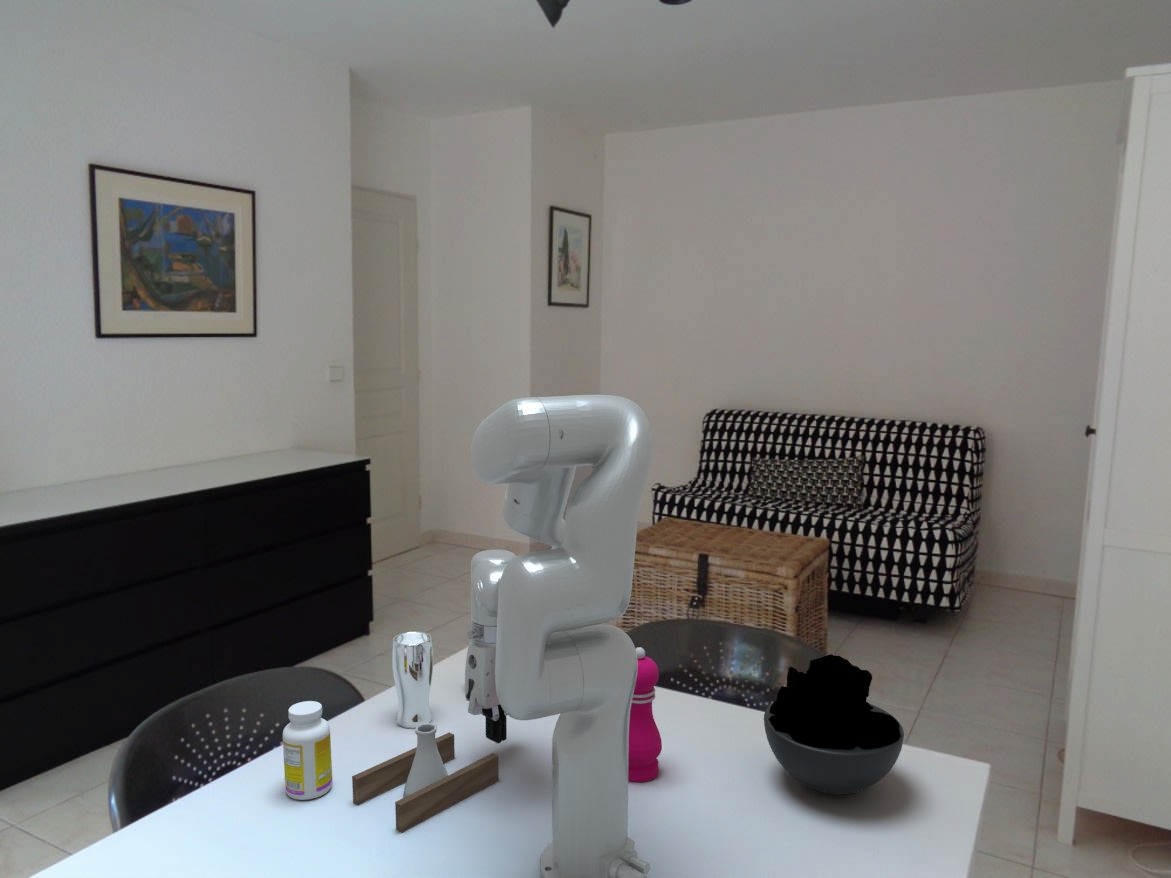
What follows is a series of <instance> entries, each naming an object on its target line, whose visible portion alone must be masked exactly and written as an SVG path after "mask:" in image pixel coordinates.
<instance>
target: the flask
mask: <svg viewBox="0 0 1171 878" xmlns="http://www.w3.org/2000/svg"><path fill="white" fill-rule="evenodd" d="M414 729H415V730H414V733H415V735H416V736H417V740H416V741H417V743H416V747H417V750H416V754H415V757H414V760H413V764H412V767H411V770H410V773H409V776H408V778H407V781H406V782H405V785H404V788H403V794H402V795H403V796H402V798H404V797H406V796H408V795H410V794H412V793H414V792H416V791H418V790H420V789H422V788H424V787H426V786H428V785H430V784H432V783H434V782H436V781H438V780H440V779H442V778H444V777H446V776H448V775H449V773H448V771H447V769H446V766H445V763H444V764H443V762H442V759H441V757H440V754H439V751H438V749H437V744H436V739H435V738H436V733H437V729H438V724H434V723H432V722H430V723H421V724H420V725H418V726H416V728H414Z"/></svg>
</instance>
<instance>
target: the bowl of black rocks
mask: <svg viewBox="0 0 1171 878" xmlns="http://www.w3.org/2000/svg"><path fill="white" fill-rule="evenodd" d="M786 674H787V675H786V686H784V685H782V686H780V687H779V689H778V692H777V696H776V700H775V701H773V702H772V703H770V704H769V705H768V706H767V708H766V709H765V711H764V713H763V714H764V715H763V725H764V731H765V735H766V740H767V743H768V745H769V747H770V749H771V751H772V753H773V755H774V756H775V759H776V760H777V761H778V763H779V764H780V766H781V767H783V770H785V771H786V772H787V773H788V774H789V775H791V777H793V778H794V779H795V780H796V781H798V782H799V783H801V784H803V785H805V786H806V787H808V788H810V789H812V790H814V791H817V792H821V793H824V794H825V793H826V794H831V795H832V794H833V795H849V794H850V795H851V794H855V793H858V792H863V791H865V790H867V789H869V788H871V787H873V786H874V785H876V784H878V783H879V782H880V781H882V780H883V779H884V778H885V777H886V776H887V775H888V774H889V772H891V770H892V768H893V767H894V766H895V764H896V763H897V760H898V758H899V757H900V754H901V751H902V748H903V744H904V739H905V732H904V729H903V726H902V724H901V723H900V721H899V720H898V719H897V718H896V717H895V716H893V714H891V713H889V712H888V711H886V710H885V709H883V708H881V707H879V706H876V705H874V704H872V703H869V701H867V698H869V696H870V687H871V684H872V681H873V674H872V673H871V672H870V671H869V670H867V669H861V668H859V666H856V665H854V664H852V663H851V661H849V659H847V658H844V657H842V656H840V655H833V654H831V653H829V654H827V655H825V656H821V657H818V658H813V659H811V660H810V661H809V667H808V669H807V670H806V672H805V673H804V672H803V671H798V670H797V669H796V668H794V667H793V666H789V667H788V670H787V673H786Z"/></svg>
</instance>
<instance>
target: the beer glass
mask: <svg viewBox="0 0 1171 878" xmlns="http://www.w3.org/2000/svg"><path fill="white" fill-rule="evenodd" d="M391 657H392V658H391V661H392V662H391V665H392V675H393V680H394V685H395V689H396V694H397V702H398V704H397V705H398V706H397V713H396V714H397V715H396V724H397V726H399V727H402V728H405V729H416V726H418V725H420V724H421V723H432V721H433V716H432V709H431V706H430V705H431V704H430V694H431V693H430V692H431V688H432V687H431V686H432V680H433V672H434V671H433V670H434V651H433V642H432V636H431V634H429V633H428V632H424V631H407V632H402V633H399V634H397V635H395V636H394V637H393V638H392V654H391Z"/></svg>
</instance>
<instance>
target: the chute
mask: <svg viewBox="0 0 1171 878" xmlns="http://www.w3.org/2000/svg"><path fill="white" fill-rule="evenodd" d="M435 739H436V744H437V749H438V751H439V754H440V757H441V759H442V762H443V764H444V765H445V764H446V763H448V762H450V761H452V760H454V759H456V757H455V754H456V753H455V734H454V733H452V732H447V733H445V734H443V735H440V736H437V737H435ZM416 750H417V746H416V747H414V748H411V749H409V750H407V751H405V752H403V753H401V754H398V755H396V756H394V757H392V758H389V759H387V760H385V761H383V762H380V763H378V764H376V765H374V766H372V767H370V768H367V769H365V770H364V771H361V772H358V773H357V774H354V775H352V777H351V780H352V782H351V783H352V784H351V785H352V803H353V804H355V805H356V806H359V805H362V804H364V803H365V802H368V801H370V800H372V799H374V798H377V797H378V796H381V795H382V794H384V793H386V792H388V791H390V790H392V789H395V788H397V787H398V786H401V785H404V783H405V784H406V781H407V778H408V776H409V773H410V770H411V767H412V764H413V760H414V757H415V754H416ZM499 775H500V773H499V755H498V754H496V753H494V752H493V753H490V754H488V755H486V756H483V758H480V759H478V760H476V761H474V762H472V763H470V764H467V765H466V766H464V767H462V768H461V769H458V770H456V771H454V772H452V773H450V774H448V776H446V777H444V778H442V779H440V780H438V781H436V782H434V783H432V784H430V785H428V786H426V787H424V788H422V789H420V790H418V791H416V792H414V793H412V794H410V795H408V796H406V797H404V798H403V797H402V798H400V799H399V800H396V801H395V802H394V804H395V805H394V807H395V808H394V810H395V830H396V831H398V832H400V833H404V832H406V831H408V830H410V829H412V828H414V827H415V826H417V825H419V824H420V823H423V822H425V821H426V820H428V819H430V818H431V817H433V816H437V814H439V813H441V812H443V811H444V810H446V809H449V808H450V807H452V806H454V805H456V804H458V803H460V802H461V801H463V800H465V799H467V798H469V797H471V796H473V795H474V794H477V793H478V792H480V791H482V790H484V789H486V788H488V787H490V786H491V785H493V784H495V783H496V782H498V781H500V780H499Z"/></svg>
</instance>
